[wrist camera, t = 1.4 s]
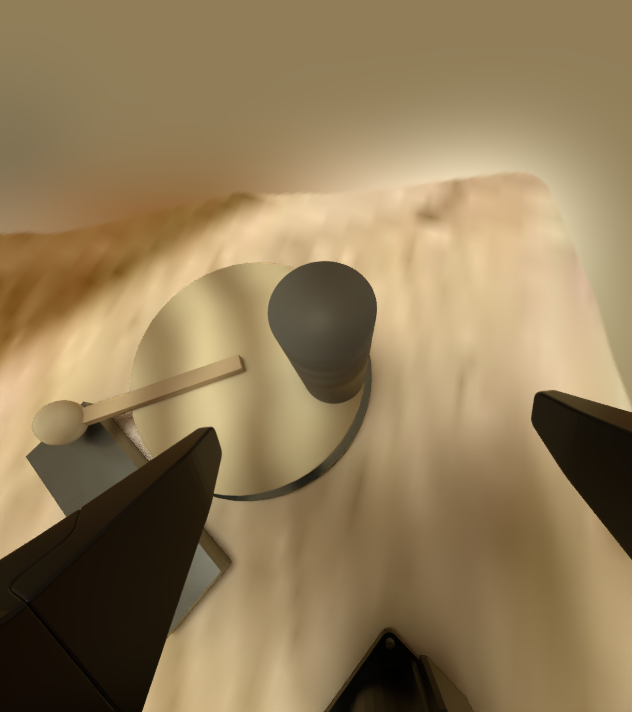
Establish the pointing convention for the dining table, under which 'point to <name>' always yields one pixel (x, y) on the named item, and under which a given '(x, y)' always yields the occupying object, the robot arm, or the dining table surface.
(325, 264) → the disc
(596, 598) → the dining table surface
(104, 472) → the base
